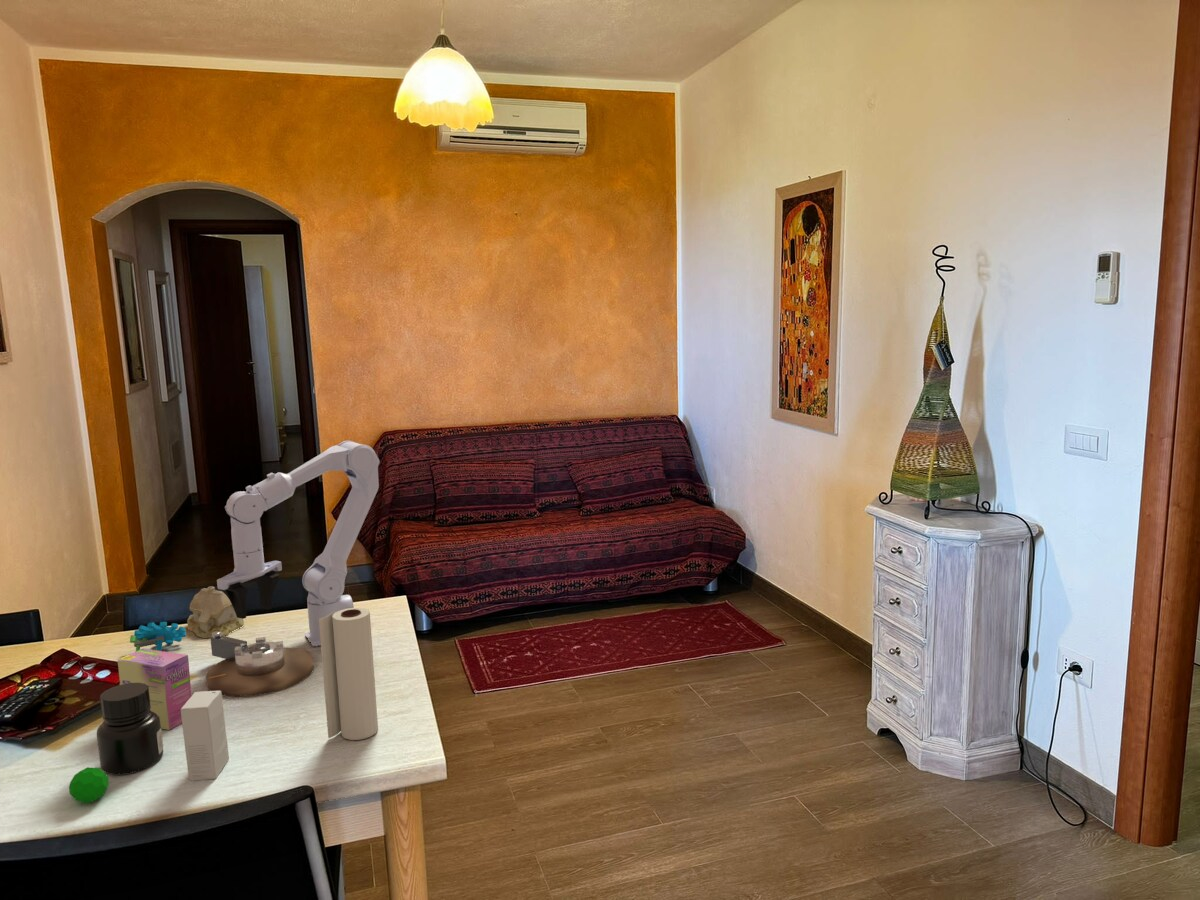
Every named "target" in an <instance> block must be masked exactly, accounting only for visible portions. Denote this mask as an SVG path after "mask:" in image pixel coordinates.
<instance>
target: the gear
mask: <svg viewBox="0 0 1200 900" xmlns="http://www.w3.org/2000/svg"><path fill="white" fill-rule="evenodd" d="M167 625H168V622H167V621H160V622H159V625H158V624H155V622H154V621H153V622H148V623H147V626H146V625H143V624H141V625H140V626H139V625H138V626H139V627H138V629H135V630H134V634H132V635H130V637H129V638H130V639H129V643H131V644H133V646H134V647H135V652H136V651H138V650H141V648H143V647H148V646H156V650H157V651H162V649H163V643H165V644H166V645H168V646H169V645H172V644H173V645H174V642H178V643H181V642H182V640H183V638H187V632H186V627H184V626H179V624H178V623H175V622H174V623H173V622H172V623H171V625H170V626H167Z"/></svg>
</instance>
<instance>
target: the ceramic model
mask: <svg viewBox="0 0 1200 900" xmlns="http://www.w3.org/2000/svg"><path fill="white" fill-rule="evenodd" d="M189 611H190V612H192V614H190V615H189V616H188V618H187V621H186V623H187V631H190V632H193V633H194V634H195V635H196V636H197V637H199V638H201V639H203V638H205V639H210V637H212V633H213V632H216V631H221V634H222V636H225V635H226V636H228V635H230V634H231V633H230V632H232V631H234V630H236V629H238V628H240V627H242V626H243V625H244V626H245V621H244V619H242V618H237V616H236V613H235V611H234V608H233V606H232V604H231V602H230V600H229V599H228V597H227V596H226V594H225V593H224V592H223V591H222V590H218V589H216V587H215V586H213V585H211V586H208V587H207V588H205V587H204V588H201V589H200V590H199V591H198V593H196V594H194V596H193V598H192V600H191V602H190V604H189ZM244 626H243V627H244ZM243 627H242V628H243ZM236 631H237V630H236ZM234 632H235V631H234ZM229 633H230V634H229ZM232 633H233V632H232Z"/></svg>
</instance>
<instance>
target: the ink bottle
mask: <svg viewBox="0 0 1200 900" xmlns="http://www.w3.org/2000/svg"><path fill="white" fill-rule="evenodd" d="M99 701H100V708H101V710H100V711H101V716H102V720H103V721H102V723H100V724H99V726H98V728H97V729H96V739H97V741H96V743H97V748H98V756H99V764H100V769H101V770H102V771H103V772H104V773H105V774H111V775H129V774H132V773H136V772H139V771H142V770H144V769H147V768H149V767H150V766H152V765H154V764H156V763H157V762H158V761H159V760H160V759H162V757H163V755H164V742H163V732H162V728H161V725H160V719H159V716H158V715H157V714H156V713H154V712H152V711H151V710H150V708H151V705H150V695H149V687H148V685H146V684H145V683H128V684H122V685H120V684H118V685H115V686H113V687H110V688H109V689H108V688H107V689H106V690H104V691H103V692H102V693H101V694H100V696H99Z"/></svg>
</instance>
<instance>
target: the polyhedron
mask: <svg viewBox="0 0 1200 900" xmlns="http://www.w3.org/2000/svg"><path fill="white" fill-rule="evenodd" d="M109 783H110V782H109V776H108V775H107V773H106V772H104V771H103V770H102V769H101V768H100V767H89V766H87V767H86V768H84V769H82V770H80V771H78V772H77V773H75V774H74V776H73V777H72V779H71V781H70V783H69V785H68V786H69V787H68V789H69V794H70V796H71V797H72V799H74V800H75V801H76V802H78V803H85V804H86V803H88V804H89V803H90V804H91V803H93V802H95V801H97V800H98V799H101V798H102V797H103V796H104V795H105V793H106V791H107V789H108V787H109V785H110V784H109Z"/></svg>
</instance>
